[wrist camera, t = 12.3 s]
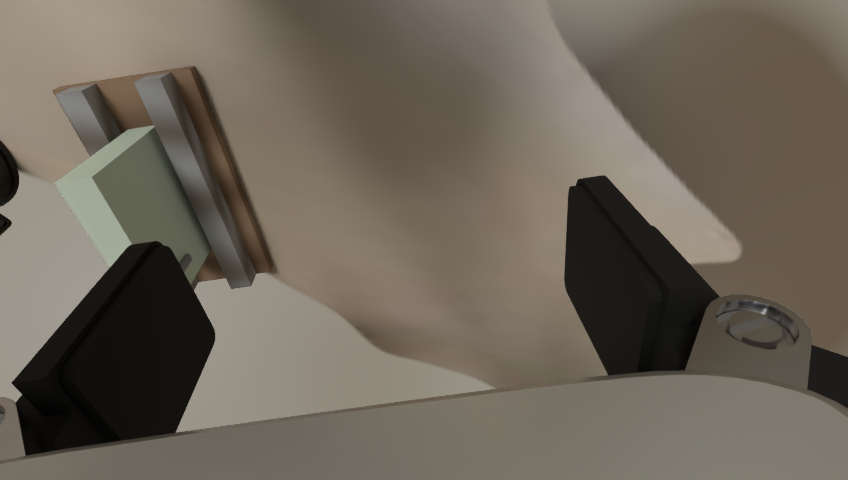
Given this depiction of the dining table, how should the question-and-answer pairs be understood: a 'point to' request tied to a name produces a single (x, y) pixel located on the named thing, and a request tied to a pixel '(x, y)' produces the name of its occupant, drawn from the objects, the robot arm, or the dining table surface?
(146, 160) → the door panel
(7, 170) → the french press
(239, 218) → the door track
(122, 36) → the dining table surface
